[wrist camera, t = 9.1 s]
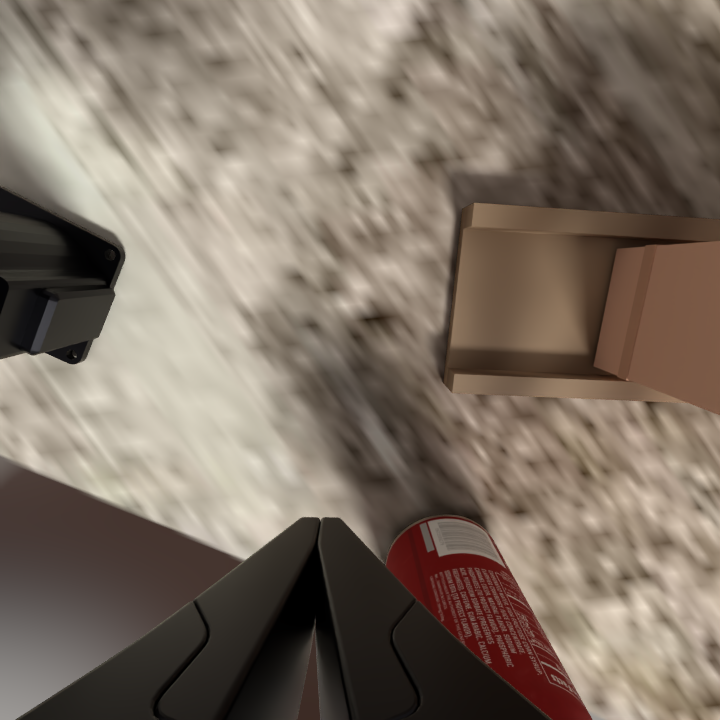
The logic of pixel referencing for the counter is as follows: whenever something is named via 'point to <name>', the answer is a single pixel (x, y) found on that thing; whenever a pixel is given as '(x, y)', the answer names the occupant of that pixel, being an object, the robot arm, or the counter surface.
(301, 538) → the robot arm
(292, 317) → the counter surface
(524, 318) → the bay
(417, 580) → the soda can
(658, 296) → the pink box
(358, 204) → the counter surface
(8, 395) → the counter surface
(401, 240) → the counter surface
